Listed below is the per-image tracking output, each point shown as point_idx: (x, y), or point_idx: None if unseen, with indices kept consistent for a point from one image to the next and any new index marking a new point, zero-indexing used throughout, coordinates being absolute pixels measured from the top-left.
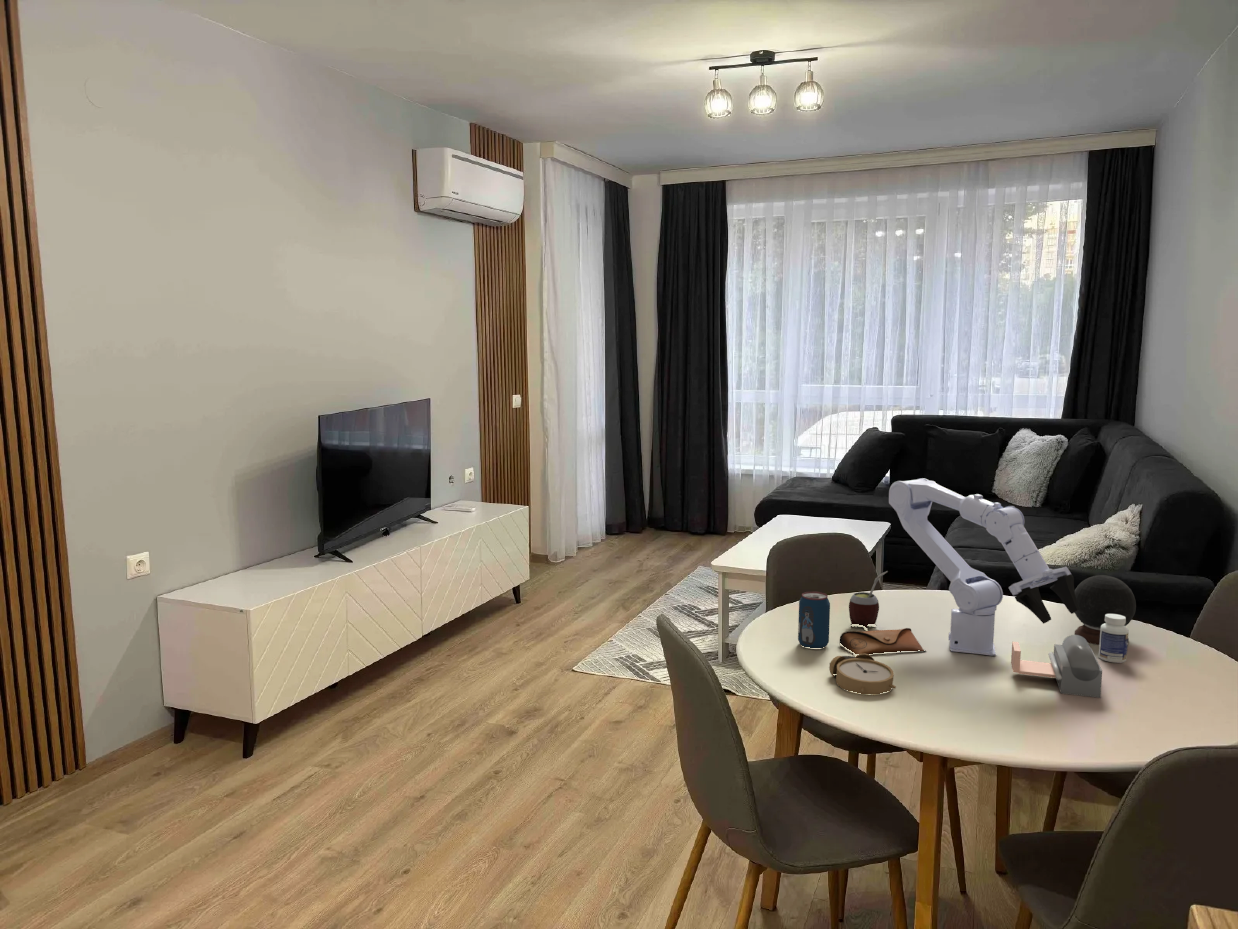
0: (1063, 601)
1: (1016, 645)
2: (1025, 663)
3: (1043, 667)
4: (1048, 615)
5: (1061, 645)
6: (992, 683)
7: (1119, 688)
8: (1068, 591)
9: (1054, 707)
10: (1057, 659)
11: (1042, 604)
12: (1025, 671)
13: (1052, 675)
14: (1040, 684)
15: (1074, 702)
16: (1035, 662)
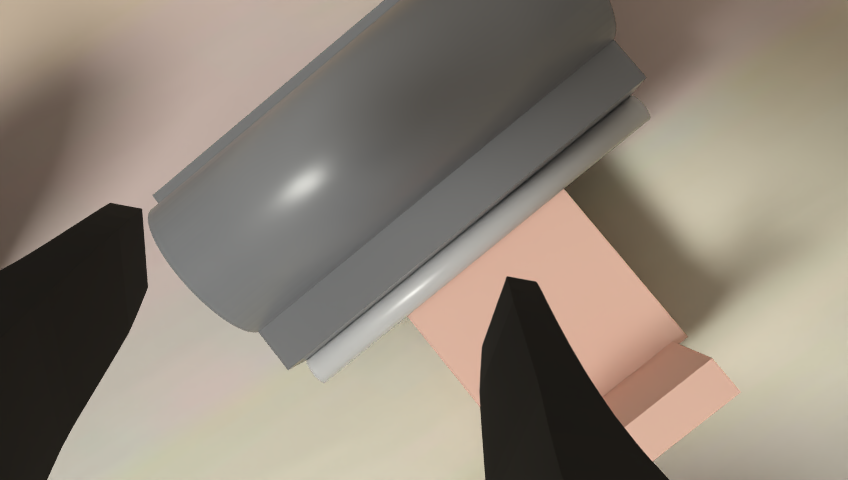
0: (73, 413)
1: None
2: None
3: None
4: (531, 300)
5: (272, 327)
6: (808, 395)
7: (290, 8)
8: (8, 352)
9: (813, 19)
10: (446, 243)
11: (565, 391)
12: (663, 308)
13: (568, 194)
14: None
15: (661, 9)
16: (472, 369)
